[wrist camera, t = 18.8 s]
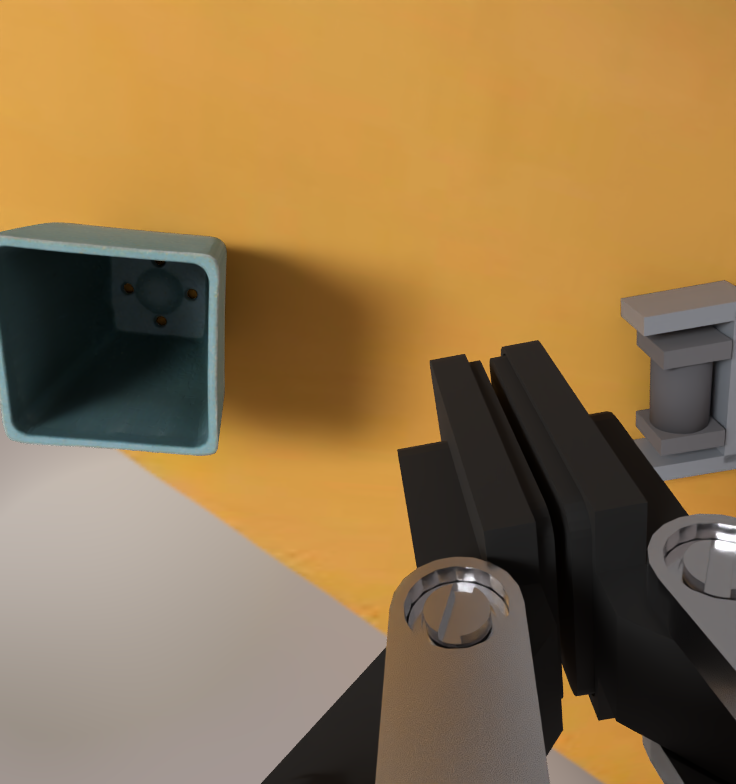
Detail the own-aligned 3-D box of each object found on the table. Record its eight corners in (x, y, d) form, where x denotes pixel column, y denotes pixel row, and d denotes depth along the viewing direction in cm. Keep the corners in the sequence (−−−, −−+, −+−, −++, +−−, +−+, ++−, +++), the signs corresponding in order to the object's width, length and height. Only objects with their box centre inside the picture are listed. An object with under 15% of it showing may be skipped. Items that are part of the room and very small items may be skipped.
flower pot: (63, 191, 32) (-29, 233, 24) (248, 209, 33) (219, 256, 25) (79, 358, 36) (4, 444, 28) (244, 371, 37) (217, 458, 28)
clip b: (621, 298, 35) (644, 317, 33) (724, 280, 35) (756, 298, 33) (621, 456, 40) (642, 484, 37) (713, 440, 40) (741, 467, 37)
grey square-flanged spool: (636, 327, 36) (664, 352, 33) (699, 317, 36) (732, 340, 33) (635, 425, 39) (661, 456, 36) (693, 416, 39) (724, 445, 36)
